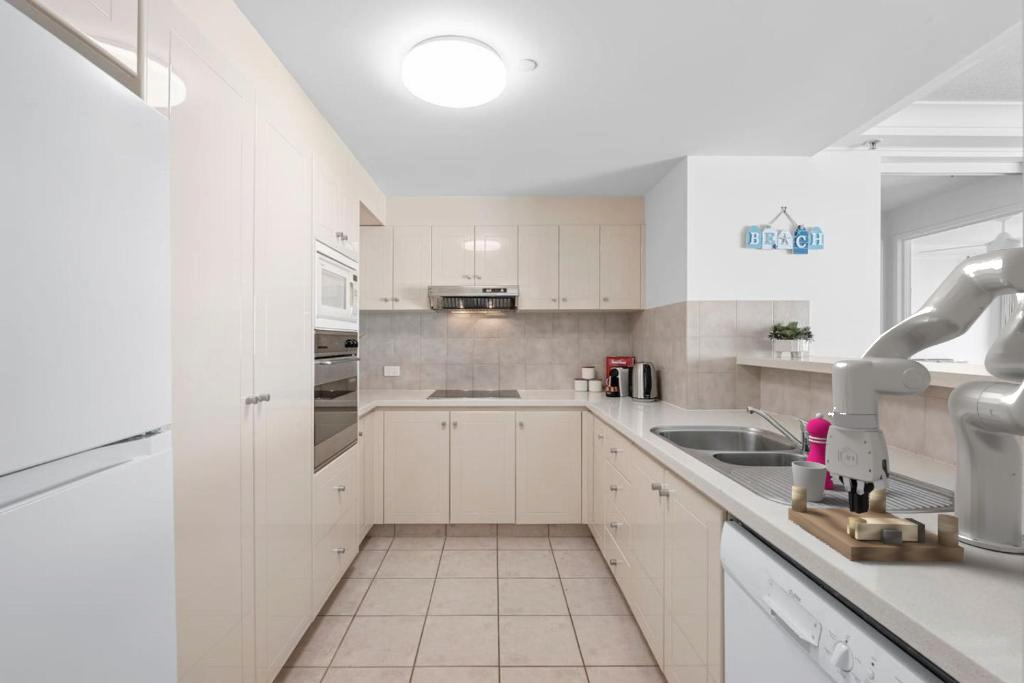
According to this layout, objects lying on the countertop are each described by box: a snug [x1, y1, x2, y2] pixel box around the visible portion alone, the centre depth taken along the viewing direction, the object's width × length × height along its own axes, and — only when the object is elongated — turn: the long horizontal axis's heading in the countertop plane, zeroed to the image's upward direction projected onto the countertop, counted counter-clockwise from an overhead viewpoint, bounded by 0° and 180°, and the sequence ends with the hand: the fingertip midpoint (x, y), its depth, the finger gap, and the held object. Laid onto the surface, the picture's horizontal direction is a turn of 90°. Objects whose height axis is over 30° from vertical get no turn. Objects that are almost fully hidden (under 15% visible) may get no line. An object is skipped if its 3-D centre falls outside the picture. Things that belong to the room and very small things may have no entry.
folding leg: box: [847, 517, 926, 542], centre depth 89 cm, size 12×3×3 cm, turn 86°
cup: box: [791, 460, 827, 503], centre depth 121 cm, size 8×10×8 cm
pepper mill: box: [805, 412, 834, 490], centre depth 130 cm, size 7×7×20 cm
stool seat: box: [787, 485, 965, 563], centre depth 95 cm, size 20×20×8 cm
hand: (858, 511), depth 96 cm, fingers closed
